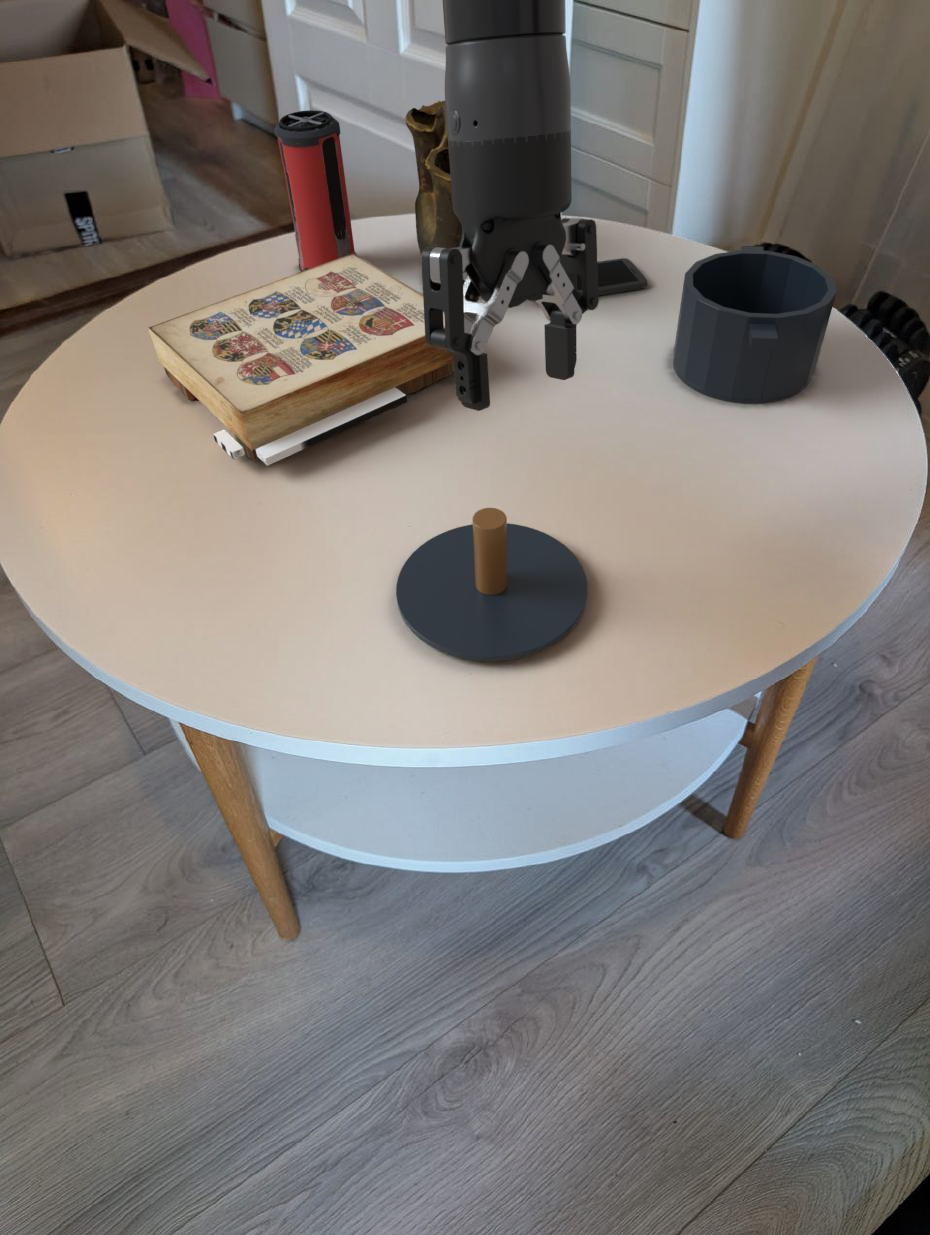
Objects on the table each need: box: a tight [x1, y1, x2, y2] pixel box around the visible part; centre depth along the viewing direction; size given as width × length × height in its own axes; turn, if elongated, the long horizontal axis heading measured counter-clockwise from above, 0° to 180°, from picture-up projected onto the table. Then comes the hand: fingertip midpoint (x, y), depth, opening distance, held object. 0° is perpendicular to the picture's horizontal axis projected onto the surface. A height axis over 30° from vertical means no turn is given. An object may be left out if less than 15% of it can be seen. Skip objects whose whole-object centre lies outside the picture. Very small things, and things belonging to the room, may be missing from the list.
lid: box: [395, 507, 588, 662], centre depth 69 cm, size 16×16×8 cm
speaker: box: [273, 110, 357, 272], centre depth 109 cm, size 8×8×18 cm
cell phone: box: [577, 257, 648, 296], centre depth 109 cm, size 7×14×1 cm, turn 104°
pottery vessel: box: [404, 100, 465, 285], centre depth 105 cm, size 25×11×20 cm, turn 12°
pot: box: [672, 245, 838, 405], centre depth 91 cm, size 15×20×10 cm
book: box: [147, 253, 454, 466], centre depth 94 cm, size 25×6×28 cm
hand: (519, 392), depth 62 cm, fingers open, 8 cm apart
